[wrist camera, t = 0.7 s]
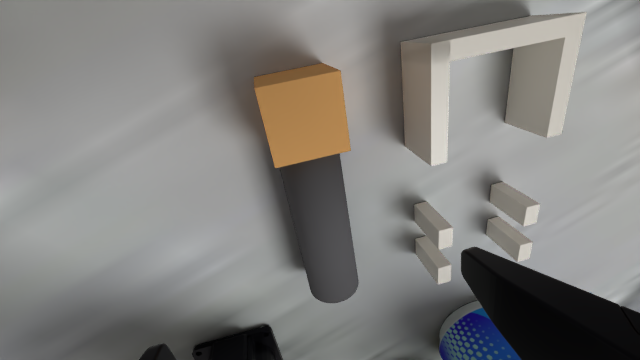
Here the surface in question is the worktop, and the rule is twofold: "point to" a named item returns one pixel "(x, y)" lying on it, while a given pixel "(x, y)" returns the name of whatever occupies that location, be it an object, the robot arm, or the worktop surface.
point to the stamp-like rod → (313, 170)
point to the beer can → (473, 336)
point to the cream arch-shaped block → (524, 87)
